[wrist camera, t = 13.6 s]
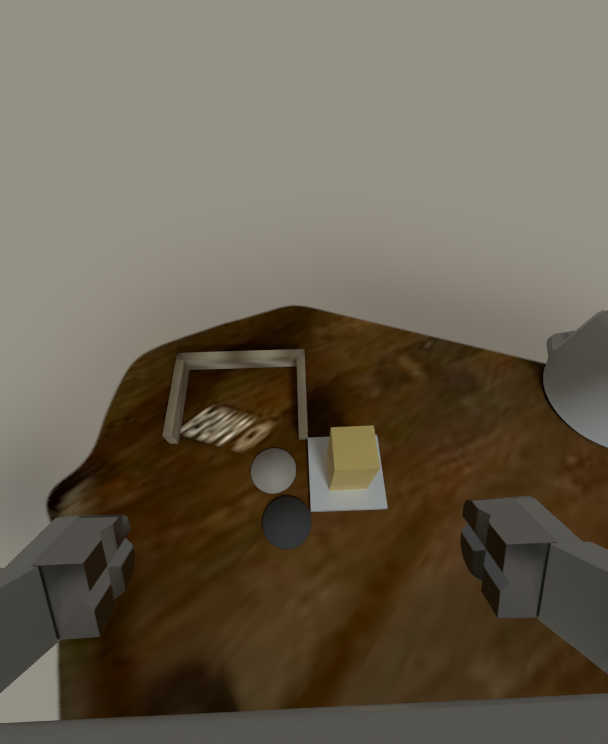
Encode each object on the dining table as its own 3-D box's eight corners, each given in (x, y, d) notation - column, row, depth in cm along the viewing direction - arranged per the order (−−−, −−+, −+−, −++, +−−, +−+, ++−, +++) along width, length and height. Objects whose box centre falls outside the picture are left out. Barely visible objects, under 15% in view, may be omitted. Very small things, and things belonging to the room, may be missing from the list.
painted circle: (286, 442, 42) (286, 441, 41) (302, 483, 39) (302, 482, 39) (245, 458, 41) (245, 457, 40) (259, 500, 38) (259, 500, 38)
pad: (376, 436, 42) (376, 435, 41) (386, 509, 38) (387, 508, 37) (307, 439, 42) (307, 437, 41) (310, 511, 38) (310, 510, 37)
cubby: (304, 359, 47) (304, 349, 45) (307, 439, 42) (307, 431, 40) (182, 363, 47) (177, 352, 45) (169, 443, 42) (162, 436, 39)
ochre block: (362, 452, 40) (373, 425, 33) (366, 489, 38) (380, 468, 31) (326, 454, 40) (331, 427, 33) (329, 490, 38) (334, 470, 31)
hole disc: (300, 489, 39) (300, 489, 39) (318, 536, 36) (318, 536, 36) (256, 508, 38) (256, 507, 38) (272, 557, 36) (272, 557, 35)
